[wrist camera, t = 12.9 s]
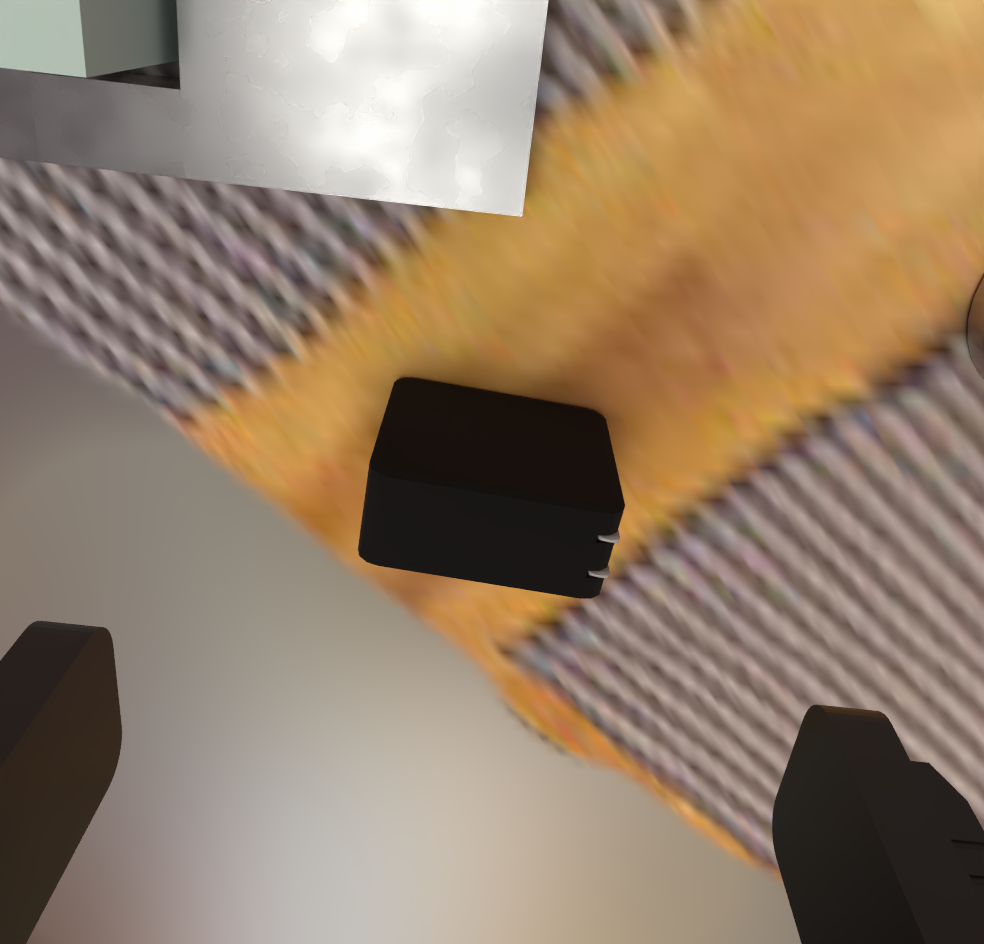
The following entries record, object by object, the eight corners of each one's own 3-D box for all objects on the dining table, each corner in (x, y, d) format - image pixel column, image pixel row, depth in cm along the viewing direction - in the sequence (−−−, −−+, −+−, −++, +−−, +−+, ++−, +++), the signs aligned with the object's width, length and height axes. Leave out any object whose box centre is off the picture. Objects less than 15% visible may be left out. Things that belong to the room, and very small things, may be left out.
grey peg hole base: (561, -135, 33) (566, -149, 30) (521, 199, 39) (522, 216, 36) (-47, -212, 33) (-106, -234, 29) (1, 139, 38) (-45, 152, 35)
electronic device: (396, 373, 43) (366, 471, 34) (604, 409, 43) (628, 515, 34) (385, 451, 45) (354, 563, 36) (584, 485, 45) (602, 604, 36)
